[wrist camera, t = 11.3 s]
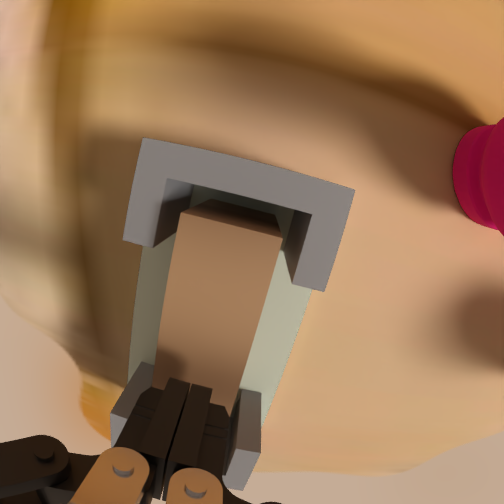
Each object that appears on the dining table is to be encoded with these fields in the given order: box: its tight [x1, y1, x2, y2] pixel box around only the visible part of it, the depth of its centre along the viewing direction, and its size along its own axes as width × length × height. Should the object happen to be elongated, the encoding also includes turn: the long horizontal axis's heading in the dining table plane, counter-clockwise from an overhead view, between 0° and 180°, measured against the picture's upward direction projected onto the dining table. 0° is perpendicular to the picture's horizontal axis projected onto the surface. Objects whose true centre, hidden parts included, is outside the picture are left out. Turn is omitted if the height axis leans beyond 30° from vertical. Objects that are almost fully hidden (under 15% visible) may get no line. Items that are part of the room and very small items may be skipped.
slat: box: [152, 199, 283, 417], centre depth 14 cm, size 12×3×6 cm, turn 166°
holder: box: [110, 138, 355, 491], centre depth 15 cm, size 16×9×6 cm, turn 166°
